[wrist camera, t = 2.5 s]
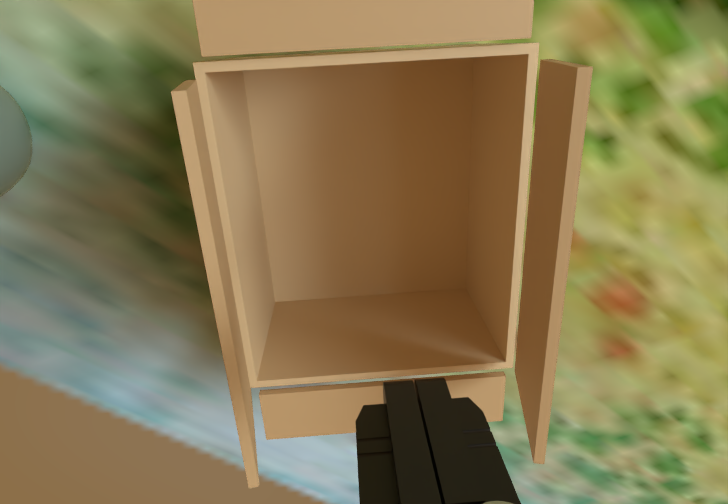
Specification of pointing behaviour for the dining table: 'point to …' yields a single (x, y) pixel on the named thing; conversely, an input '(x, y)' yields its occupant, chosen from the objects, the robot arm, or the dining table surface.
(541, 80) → the flap
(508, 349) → the carton
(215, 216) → the flap
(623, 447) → the dining table surface
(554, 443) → the dining table surface
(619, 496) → the dining table surface
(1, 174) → the cup
